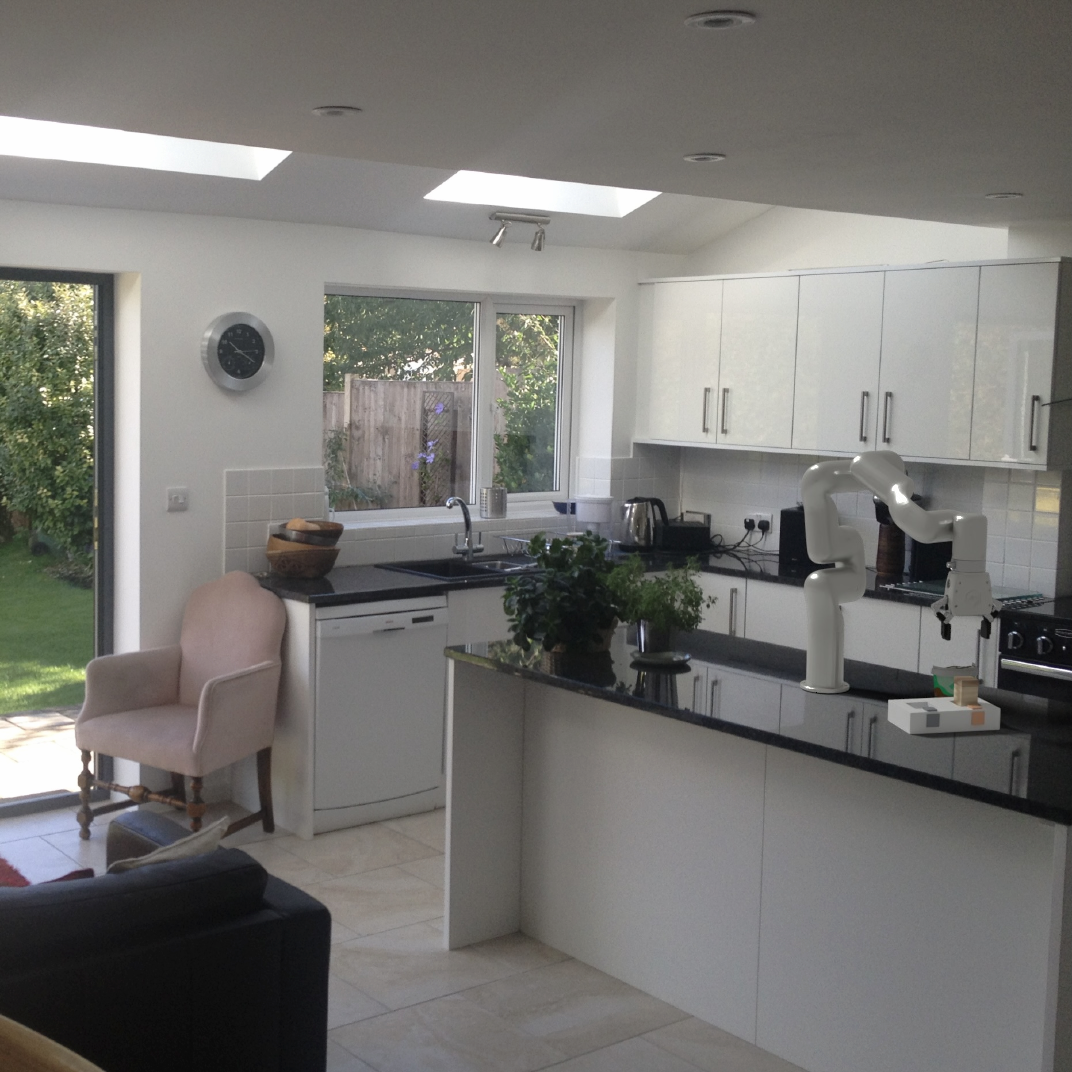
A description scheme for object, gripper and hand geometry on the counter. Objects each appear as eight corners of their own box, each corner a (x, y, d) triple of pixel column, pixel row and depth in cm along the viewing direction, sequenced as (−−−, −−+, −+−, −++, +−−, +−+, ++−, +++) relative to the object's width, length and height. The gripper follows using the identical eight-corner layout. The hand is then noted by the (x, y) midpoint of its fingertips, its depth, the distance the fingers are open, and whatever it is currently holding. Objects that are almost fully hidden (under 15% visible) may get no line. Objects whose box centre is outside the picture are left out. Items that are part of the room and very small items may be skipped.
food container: (944, 710, 312) (945, 670, 310) (929, 704, 318) (931, 665, 316) (987, 706, 315) (989, 667, 314) (973, 701, 321) (974, 662, 320)
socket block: (887, 720, 303) (888, 698, 302) (974, 716, 306) (975, 694, 306) (910, 734, 291) (910, 711, 290) (1000, 730, 294) (1001, 707, 294)
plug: (952, 717, 301) (954, 676, 300) (969, 717, 302) (970, 675, 300) (960, 722, 297) (961, 680, 296) (977, 721, 298) (978, 679, 296)
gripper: (940, 569, 290) (938, 643, 293) (1011, 568, 293) (1008, 640, 295) (926, 565, 298) (923, 636, 300) (995, 563, 300) (992, 634, 303)
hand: (965, 638), depth 298 cm, fingers open, 9 cm apart
